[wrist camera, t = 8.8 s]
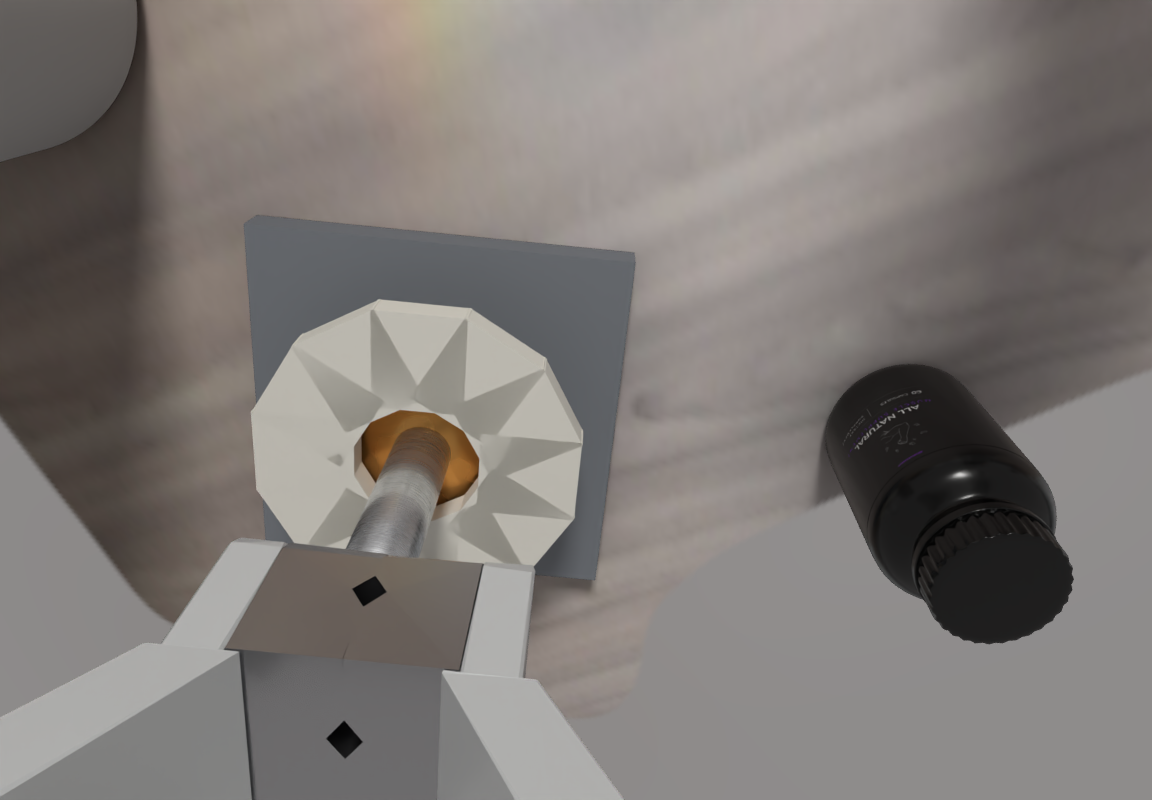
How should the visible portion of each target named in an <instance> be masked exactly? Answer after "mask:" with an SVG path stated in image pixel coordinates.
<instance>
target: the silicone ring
mask: <svg viewBox="0 0 1152 800" xmlns="http://www.w3.org/2000/svg"><path fill="white" fill-rule="evenodd" d="M399 410H407V411H417V412H428V413H435V414H437V415H438V416H440V417H442V418H443V419H445V420H446V421H448V422H450V423H451V424H453V425H455V426H456V427H458V428H459V429H461V430H463V431H464V433H465V434H466V436H467V438H468V440H469V441H470V443H471V445H472V447H473V448H474V450H475V452H476V454H477V455H478V457H479V476H478V478H477V479H476V481H475V482H474V483H473V484H472V486H471V487H470V488H469V490H468V491H467V492H466V494H465V495H463V496H461V497H458V498H455V499H453V500H450V501H448V502H445V503H443V504H440V505H438V506H436V507H435V510H434V513H433V516H432V519H431V522H430V525H429V528H428V531H427V535H426V538H425V541H424V544H423V547H422V550H421V553H420V556H419V558H427V559H439V560H450V561H461V562H473V563H483V564H485V563H486V562H492V563H507V564H523V565H533V567H534V566H535V564H536V563H537V562H538V561H539V560H540V559H541V557H542V556H543V555H544V554H545V553H546V552H547V550H548V549H549V548H550V547H551V546H552V544H553V543H554V542H555V541H556V540H557V539H558V537H559V536H560V535H561V534H562V533H563V531H564V530H565V529H566V528H567V527H568V526H569V524H570V523H571V522H572V521H573V520H574V518H575V505H576V496H577V487H578V478H579V468H580V459H581V450H582V446H583V429H582V428H581V426H580V424H579V422H578V420H577V418H576V416H575V414H574V413H573V411H572V409H571V407H570V405H569V403H568V401H567V399H566V397H565V395H564V393H563V391H562V389H561V387H560V385H559V383H558V381H557V379H556V377H555V375H554V373H553V371H552V369H551V367H550V365H549V363H548V361H547V358H546V357H544V356H542V355H541V354H539V353H537V352H536V351H534V350H533V349H531V348H530V347H528V346H527V345H525V344H524V343H522V342H521V341H519V340H518V339H516V338H515V337H513V336H512V335H510V334H509V333H507V332H506V331H504V330H503V329H501V328H500V327H498V326H497V325H495V324H494V323H492V322H491V321H489V320H488V319H486V318H485V317H483V316H482V315H480V314H479V313H477V312H476V311H474V310H472V308H462V307H452V306H442V305H432V304H421V303H411V302H401V301H391V300H381V299H378V300H377V301H375V302H373V303H370V304H368V305H366V306H364V307H362V308H359V309H357V310H355V311H353V312H350V313H348V314H346V315H344V316H342V317H339V318H337V319H335V320H333V321H331V322H328V323H326V324H324V325H322V326H319V327H317V328H315V329H313V330H311V331H308V332H306V333H304V334H302V335H300V336H299V338H298V339H297V340H296V341H295V342H294V343H293V344H292V346H291V348H290V350H289V352H288V353H287V355H286V357H285V358H284V360H283V362H282V363H281V365H280V366H279V368H278V370H277V371H276V373H275V375H274V376H273V378H272V379H271V381H270V383H269V384H268V386H267V388H266V389H265V391H264V393H263V394H262V396H261V397H260V399H259V401H258V402H257V404H256V406H255V407H254V409H253V410H252V411H251V419H252V433H253V447H254V461H255V474H256V489H257V491H258V492H259V493H260V495H261V496H262V498H263V499H264V501H265V502H266V503H267V505H268V506H269V508H270V509H271V511H272V512H273V513H274V515H275V516H276V518H277V519H278V520H279V522H280V523H281V525H282V526H283V528H284V529H285V530H286V532H287V533H288V535H289V536H290V538H291V539H292V540H293V542H294V543H298V544H307V545H315V546H324V547H332V548H341V549H346V547H347V545H348V543H349V540H350V538H351V536H352V534H353V532H354V530H355V527H356V525H357V523H358V521H359V519H360V516H361V514H362V512H363V510H364V508H365V506H366V503H367V501H368V499H369V497H370V495H371V492H372V490H373V488H374V486H375V484H376V483H375V482H374V480H373V478H372V477H371V475H370V474H369V472H368V471H367V469H366V467H365V466H364V464H363V463H362V449H361V435H362V434H363V432H364V431H365V430H366V428H367V427H368V425H369V424H370V422H372V421H375V420H377V419H380V418H382V417H384V416H387V415H389V414H391V413H394V412H396V411H399Z"/></svg>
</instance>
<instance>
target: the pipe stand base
mask: <svg viewBox="0 0 1152 800" xmlns="http://www.w3.org/2000/svg"><path fill="white" fill-rule="evenodd" d="M244 235H245V249H246V264H247V278H248V293H249V307H250V321H251V336H252V350H253V364H254V379H255V393H256V404H257V402H258V401H259V399H260V397H261V396H262V394H263V393H264V391H265V389H266V388H267V386H268V384H269V383H270V381H271V379H272V378H273V376H274V375H275V373H276V371H277V370H278V368H279V366H280V365H281V363H282V362H283V360H284V358H285V357H286V355H287V353H288V352H289V350H290V348H291V346H292V344H293V343H294V342H295V341H296V340H297V339H298V338H299V336H300V335H302V334H304V333H306V332H308V331H311V330H313V329H315V328H317V327H319V326H322V325H324V324H326V323H328V322H331V321H333V320H335V319H337V318H339V317H342V316H344V315H346V314H348V313H350V312H353V311H355V310H357V309H359V308H362V307H364V306H366V305H368V304H370V303H373V302H375V301H377V300H378V299H381V300H391V301H401V302H411V303H421V304H432V305H442V306H452V307H462V308H472V310H474V311H476V312H477V313H479V314H480V315H482V316H483V317H485V318H486V319H488V320H489V321H491V322H492V323H494V324H495V325H497V326H498V327H500V328H501V329H503V330H504V331H506V332H507V333H509V334H510V335H512V336H513V337H515V338H516V339H518V340H519V341H521V342H522V343H524V344H525V345H527V346H528V347H530V348H531V349H533V350H534V351H536V352H537V353H539V354H541V355H542V356H544V357H546V358H547V361H548V363H549V365H550V367H551V369H552V371H553V373H554V375H555V377H556V379H557V381H558V383H559V385H560V387H561V389H562V391H563V393H564V395H565V397H566V399H567V401H568V403H569V405H570V407H571V409H572V411H573V413H574V414H575V416H576V418H577V420H578V422H579V424H580V426H581V428H582V429H583V446H582V450H581V459H580V468H579V478H578V487H577V496H576V505H575V518H574V520H573V521H572V522H571V523H570V524H569V526H568V527H567V528H566V529H565V530H564V531H563V533H562V534H561V535H560V536H559V537H558V539H557V540H556V541H555V542H554V543H553V544H552V546H551V547H550V548H549V549H548V550H547V552H546V553H545V554H544V555H543V556H542V557H541V559H540V560H539V561H538V562H537V563H536V564H535V566H534V569H535V575H543V576H554V577H565V578H575V579H586V580H595V577H596V570H597V562H598V554H599V546H600V538H601V530H602V522H603V515H604V507H605V499H606V491H607V483H608V475H609V467H610V460H611V452H612V444H613V436H614V428H615V420H616V412H617V405H618V397H619V389H620V381H621V373H622V365H623V357H624V350H625V342H626V334H627V326H628V318H629V310H630V302H631V295H632V287H633V279H634V271H635V263H636V262H635V254H634V253H632V252H622V251H612V250H602V249H592V248H582V247H572V246H562V245H552V244H542V243H532V242H521V241H511V240H501V239H491V238H481V237H471V236H461V235H451V234H441V233H431V232H421V231H411V230H401V229H391V228H381V227H371V226H361V225H350V224H340V223H330V222H320V221H310V220H300V219H290V218H280V217H270V216H260V215H257V216H255V217H253V218H252V219H250V220H249V221H247V222H246V223H244ZM263 508H264V523H265V537H266V540H269V541H279V542H285V543H288V544H289V543H294V542H293V540H292V539H291V538H290V536H289V535H288V533H287V532H286V530H285V529H284V528H283V526H282V525H281V523H280V522H279V520H278V519H277V518H276V516H275V515H274V513H273V512H272V511H271V509H270V508H269V506H268V505H267V503H266V502H265V501H264V499H263Z"/></svg>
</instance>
